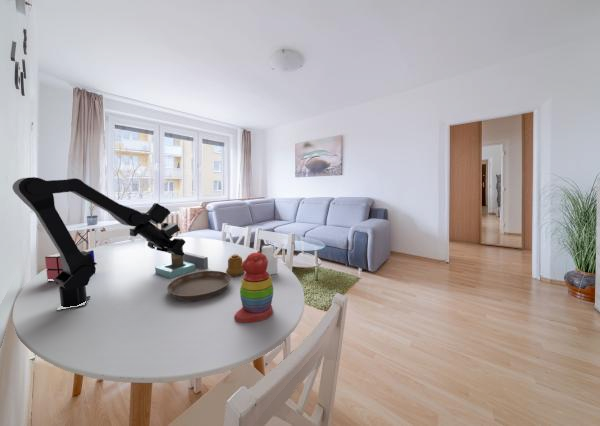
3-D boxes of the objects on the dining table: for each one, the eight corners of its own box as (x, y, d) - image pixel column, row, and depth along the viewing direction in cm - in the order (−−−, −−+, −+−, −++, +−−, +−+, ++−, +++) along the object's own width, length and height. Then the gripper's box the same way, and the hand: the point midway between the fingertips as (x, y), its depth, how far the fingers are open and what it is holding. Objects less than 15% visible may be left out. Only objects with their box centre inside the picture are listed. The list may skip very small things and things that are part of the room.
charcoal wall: (204, 269, 102) (203, 258, 101) (182, 263, 110) (181, 253, 109) (208, 267, 103) (207, 257, 103) (186, 262, 111) (185, 252, 111)
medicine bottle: (256, 270, 100) (256, 244, 99) (272, 268, 103) (272, 242, 102) (261, 276, 94) (260, 247, 92) (277, 273, 97) (277, 246, 95)
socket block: (170, 278, 91) (170, 272, 91) (155, 273, 97) (155, 267, 96) (195, 269, 101) (195, 264, 100) (180, 265, 106) (179, 260, 106)
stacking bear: (245, 302, 72) (244, 247, 70) (277, 304, 71) (276, 248, 69) (231, 322, 62) (230, 257, 60) (268, 324, 60) (267, 259, 59)
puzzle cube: (72, 282, 87) (69, 257, 86) (46, 282, 87) (43, 256, 86) (96, 273, 97) (94, 250, 96) (73, 272, 97) (71, 249, 96)
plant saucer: (210, 307, 70) (209, 297, 69) (152, 300, 74) (151, 291, 73) (240, 281, 90) (240, 272, 89) (194, 276, 94) (193, 269, 93)
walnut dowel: (180, 271, 97) (179, 246, 96) (170, 271, 97) (168, 246, 96) (185, 267, 102) (184, 243, 101) (175, 267, 102) (174, 243, 100)
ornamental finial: (231, 269, 101) (247, 270, 100) (223, 276, 94) (240, 277, 93) (230, 252, 100) (246, 253, 99) (222, 257, 93) (239, 258, 92)
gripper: (179, 219, 89) (205, 241, 100) (153, 216, 98) (179, 236, 109) (160, 242, 83) (189, 263, 94) (134, 237, 92) (163, 256, 103)
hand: (180, 254), depth 100 cm, fingers closed on walnut dowel, 4 cm apart
